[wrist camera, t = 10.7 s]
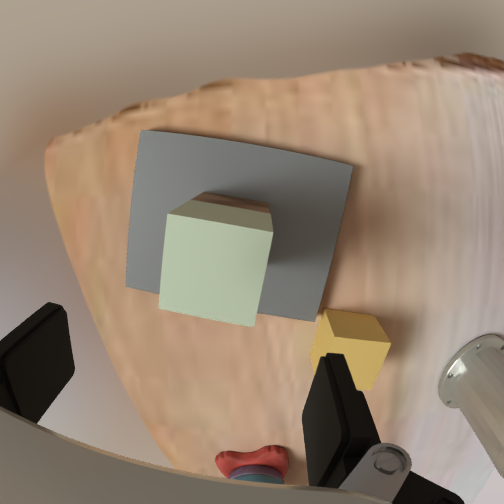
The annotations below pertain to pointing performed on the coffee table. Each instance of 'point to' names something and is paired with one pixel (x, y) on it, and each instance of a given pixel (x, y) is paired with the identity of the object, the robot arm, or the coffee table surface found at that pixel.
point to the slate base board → (247, 187)
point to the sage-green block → (215, 261)
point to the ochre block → (352, 344)
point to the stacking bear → (255, 465)
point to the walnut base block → (233, 202)
